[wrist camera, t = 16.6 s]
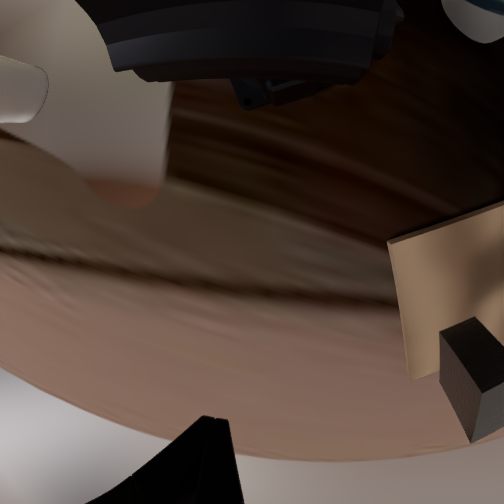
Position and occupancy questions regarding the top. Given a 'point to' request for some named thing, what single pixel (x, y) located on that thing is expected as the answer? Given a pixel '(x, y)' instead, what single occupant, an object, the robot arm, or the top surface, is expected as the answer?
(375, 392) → the top surface
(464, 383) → the shaft
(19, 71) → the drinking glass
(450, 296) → the shaft stand
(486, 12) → the lotion bottle
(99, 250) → the top surface
